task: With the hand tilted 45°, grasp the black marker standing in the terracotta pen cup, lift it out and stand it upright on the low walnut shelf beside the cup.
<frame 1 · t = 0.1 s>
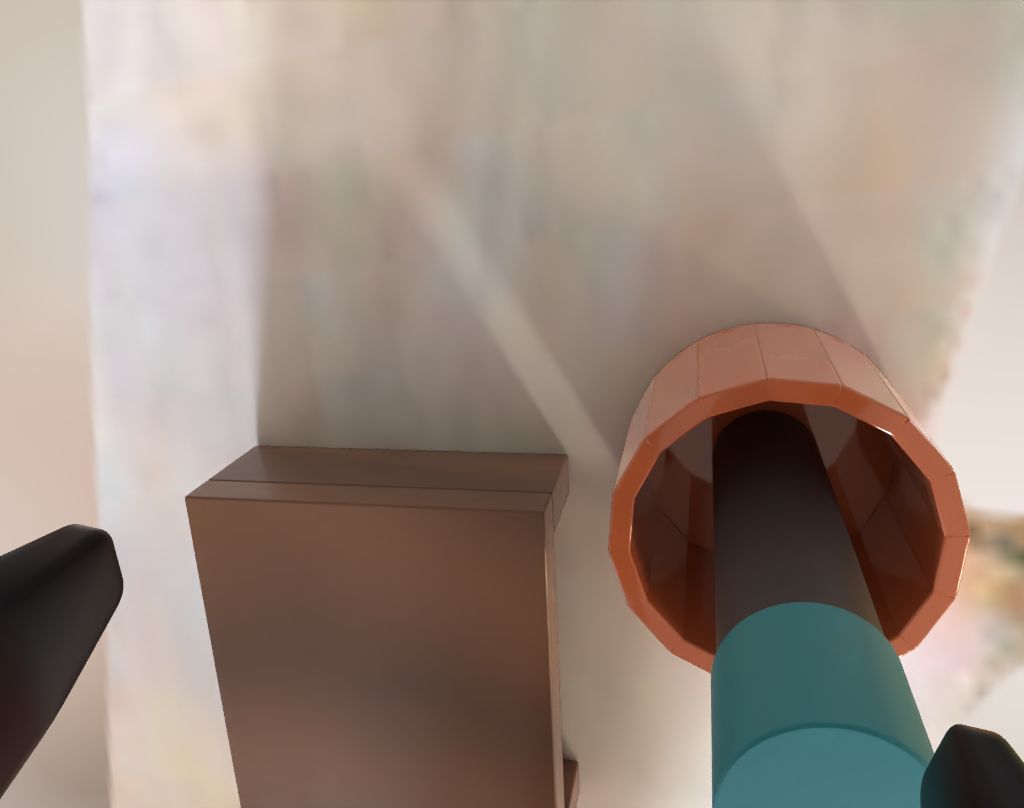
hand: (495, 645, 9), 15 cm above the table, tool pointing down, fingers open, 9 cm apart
marker: (765, 458, 23), resting on pen cup
pen cup: (764, 453, 24), on the table
shelf: (421, 622, 28), on the table
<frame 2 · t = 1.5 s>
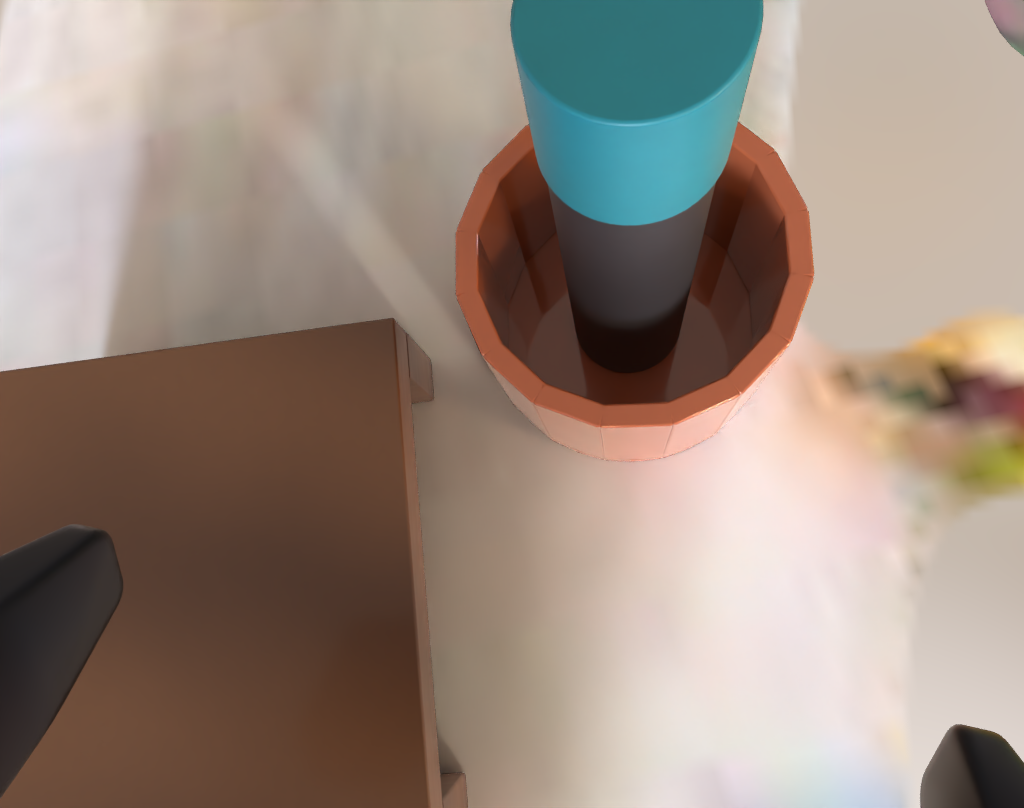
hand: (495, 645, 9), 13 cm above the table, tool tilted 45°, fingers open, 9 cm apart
marker: (627, 322, 23), resting on pen cup
pen cup: (627, 326, 23), on the table
shelf: (267, 596, 23), on the table
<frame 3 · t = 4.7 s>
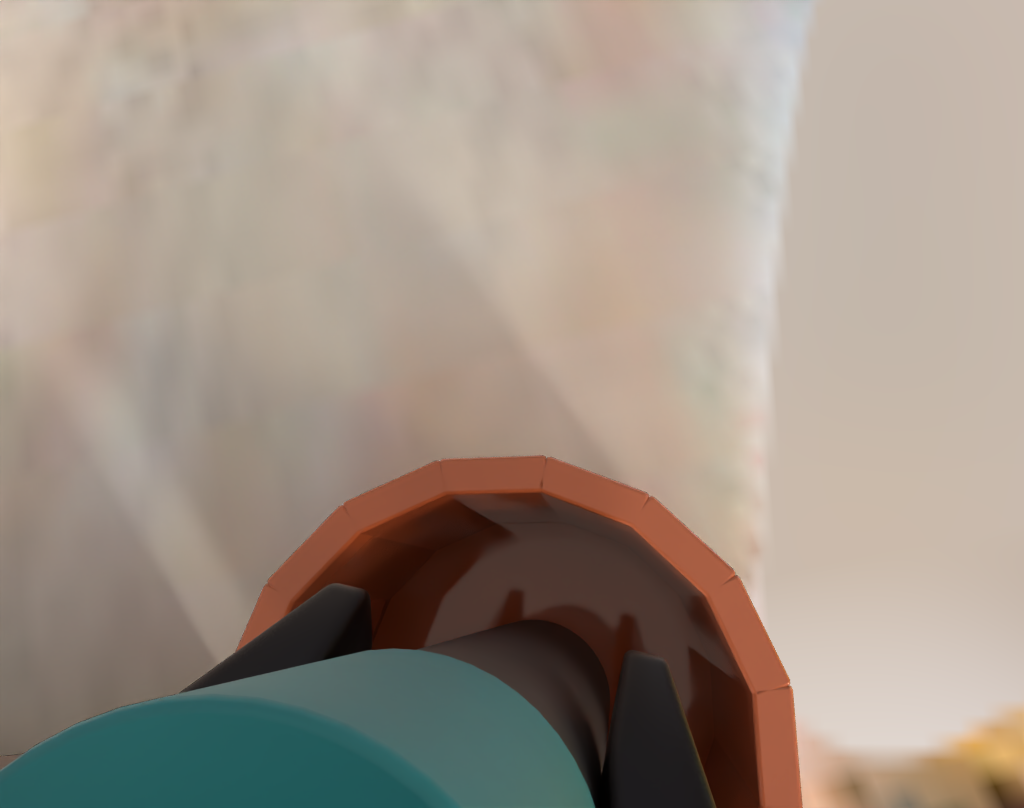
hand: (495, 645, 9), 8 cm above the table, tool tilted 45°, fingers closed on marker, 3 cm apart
marker: (533, 698, 16), resting on pen cup, touching gripper
pen cup: (536, 695, 16), on the table
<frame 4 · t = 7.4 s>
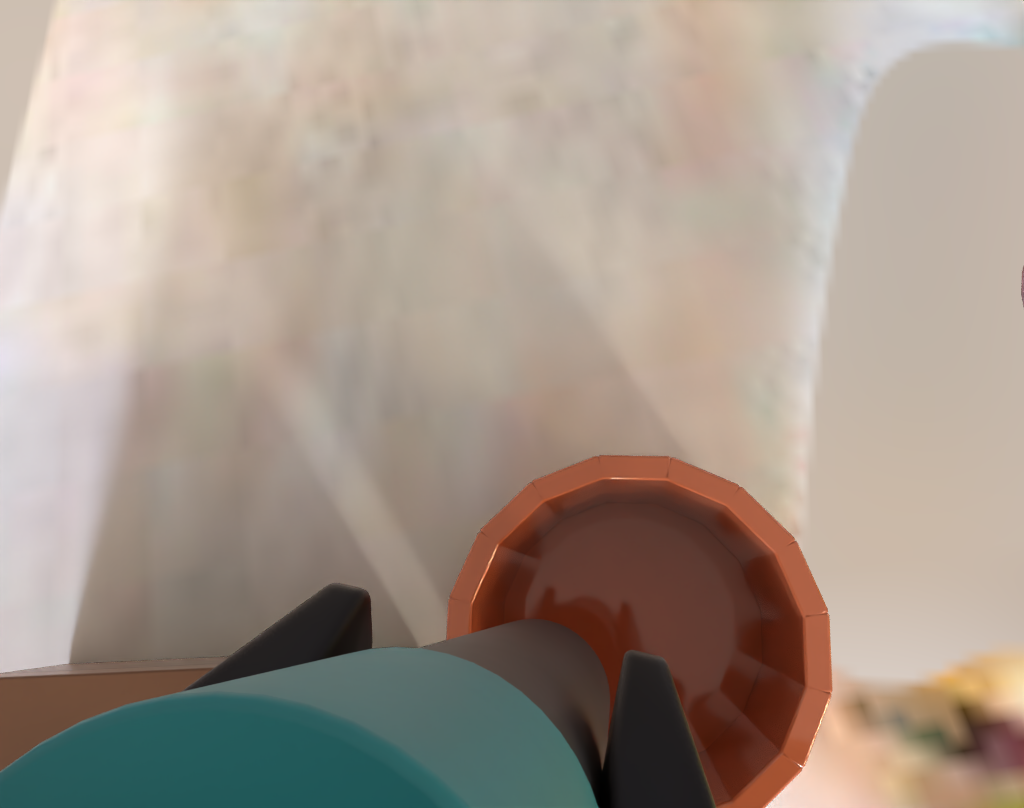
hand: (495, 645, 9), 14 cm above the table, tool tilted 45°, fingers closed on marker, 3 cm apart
marker: (533, 697, 16), point 6 cm above the table, touching gripper
pen cup: (629, 630, 22), on the table
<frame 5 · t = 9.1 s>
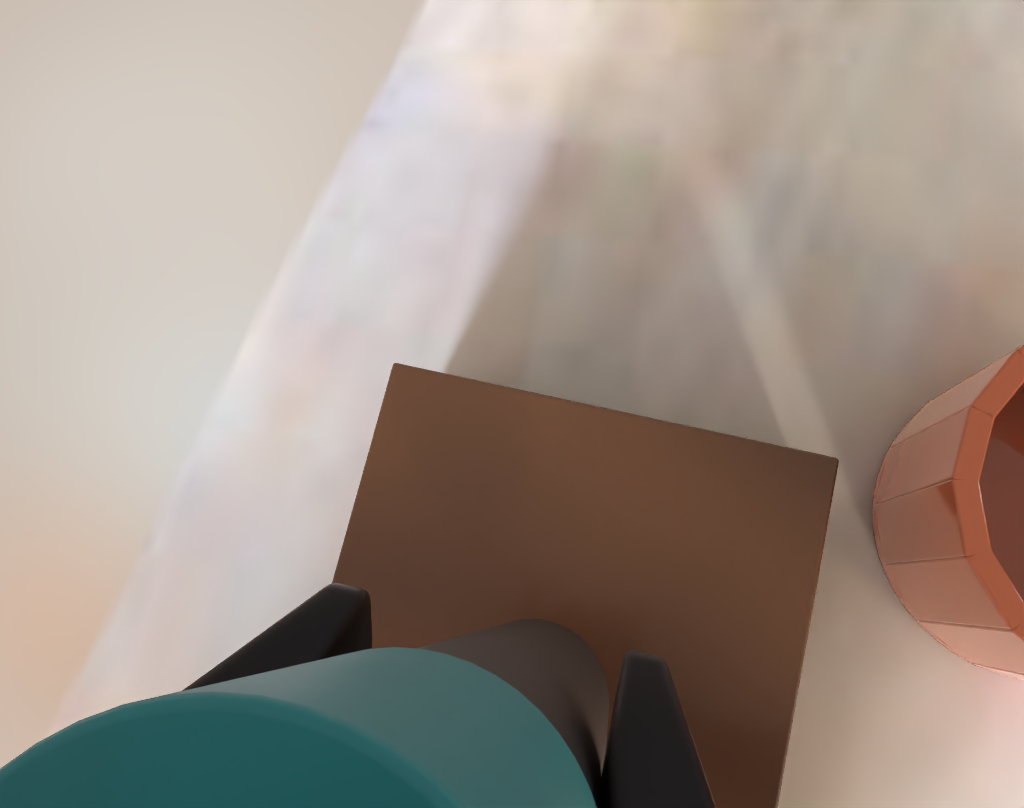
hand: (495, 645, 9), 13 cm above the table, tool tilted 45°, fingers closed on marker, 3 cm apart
marker: (532, 697, 16), point 6 cm above the table, touching gripper
shelf: (556, 666, 22), on the table
when the fingers open (11 cm above the table, at t = 10.1 s): marker stays where it is, resting on shelf.
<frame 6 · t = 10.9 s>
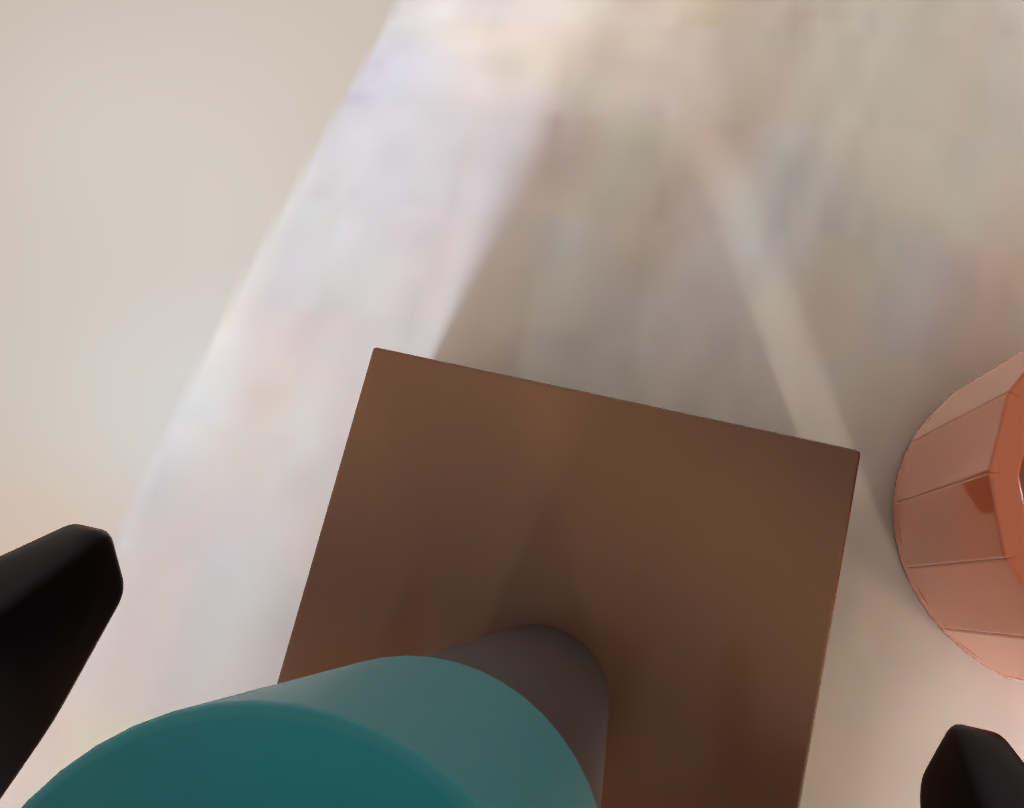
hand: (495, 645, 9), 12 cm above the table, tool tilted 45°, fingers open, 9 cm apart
marker: (534, 700, 16), point 4 cm above the table, touching shelf
shelf: (551, 678, 20), on the table
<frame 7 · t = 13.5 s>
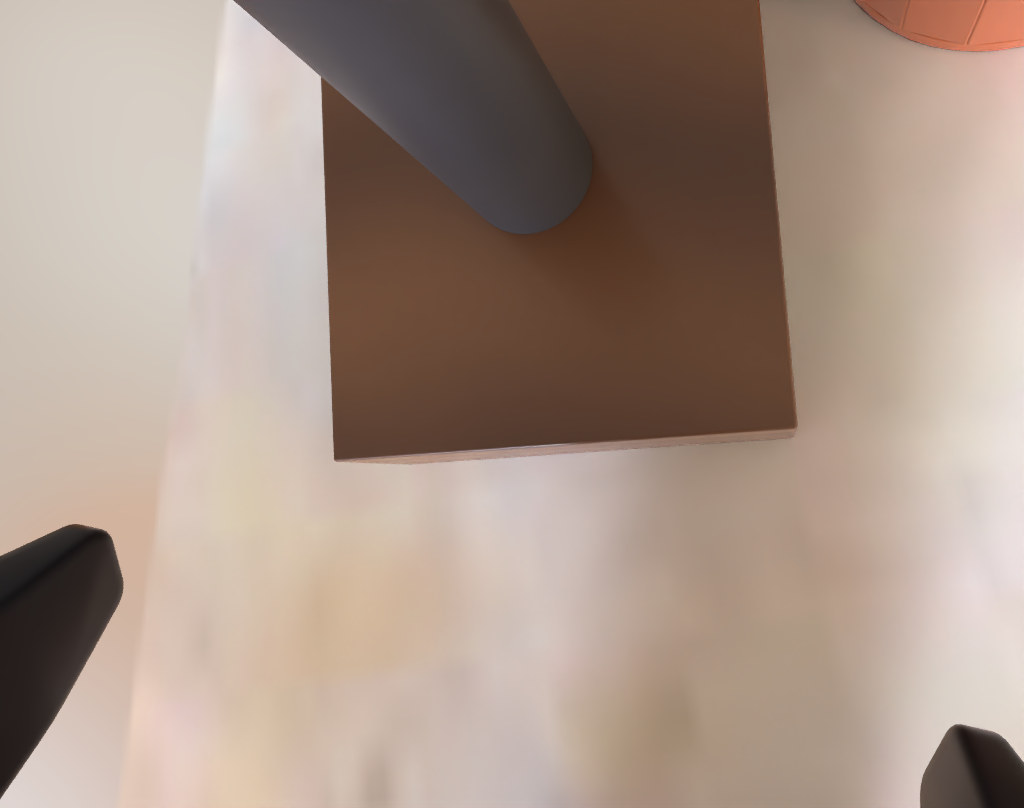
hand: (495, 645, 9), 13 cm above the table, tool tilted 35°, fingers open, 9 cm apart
marker: (529, 171, 18), point 4 cm above the table, touching shelf
shelf: (572, 222, 22), on the table
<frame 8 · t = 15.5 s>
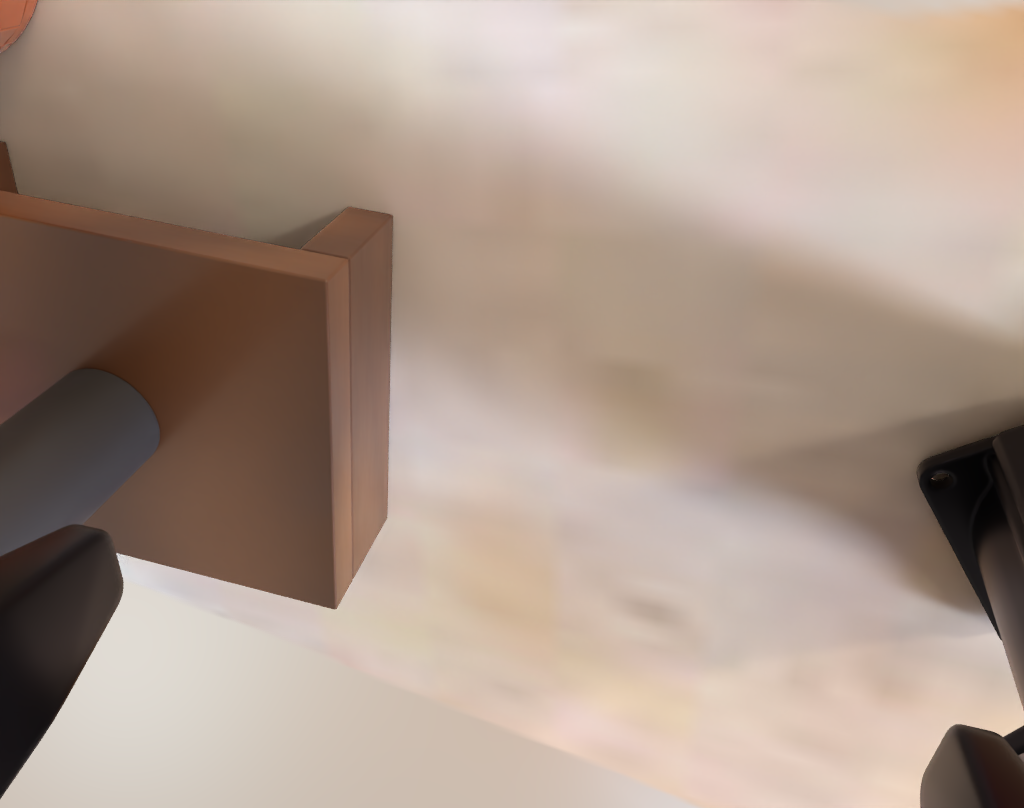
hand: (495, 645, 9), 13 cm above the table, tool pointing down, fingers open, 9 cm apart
marker: (109, 416, 21), point 4 cm above the table, touching shelf
shelf: (193, 341, 25), on the table
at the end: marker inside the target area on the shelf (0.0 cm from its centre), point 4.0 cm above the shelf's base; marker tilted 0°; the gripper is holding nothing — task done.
